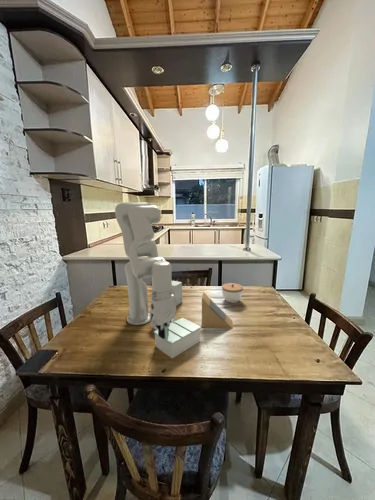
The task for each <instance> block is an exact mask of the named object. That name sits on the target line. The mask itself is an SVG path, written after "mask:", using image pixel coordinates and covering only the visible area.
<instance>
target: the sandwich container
mask: <svg viewBox="0 0 375 500" xmlns="http://www.w3.org/2000/svg"><path fill="white" fill-rule="evenodd" d="M201 327H203V328H204V327H205V328H207V327H208V328H217V329H233V328H234V322H233V319H231V317H229V316H228V314H226V313H225V312H224V311H223V310H222V309H221V308H220V307H219V306H218V305H217V304H216V303H215V302H214V301H213V300H212V299H211V298H210V297H209V296H208V295H207V294H206V293H205V292H204V291H203V292H202V297H201Z"/></svg>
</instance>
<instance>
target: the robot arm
mask: <svg viewBox="0 0 375 500" xmlns="http://www.w3.org/2000/svg"><path fill="white" fill-rule="evenodd" d="M114 215H115V218H116V221H117V224H118V226H119V228H120V231H121V234H122V240H123V247H124V251H125V255H126V257H128V259H129V261H128V262H127V263H126V264H125V266H124V272H125V277H126V283H127V293H128V306H129V308H128V309H127V311H128V313H129V315H128V316H126V321H127V323H128V324H129V325H133V326H141V325H145V324H147V323H150V325H149V326H150V328H153V329H154V328H156V327H157V328H158V335H159V337H161V338H162V339H164V338H165V331H164V329H163V324H164V325H166V326H168V327H169V326H170V322H171V321H172V320H173V319H174V318H176V317H177V306H176V304H175V299H174V295H173V294H172V281H173V280H172V265H171V263H170V262H169V261H167V260H166V258H164V257H162V256H159V251H158V247H157V242H156V241H155V239H154V238H155V231H154V229H153V227H152V225H153V224H155V225H156V224H159V223H160V221H161V219H162V213H161V210H160V209H159V207H158V206H157V205H155V204H154V203H151V202H148V201H147V202H145V201H144V202H142V201H141V202H140V201H139V202H136V201H135V202H133V201H132V202H129V201H128V202H127V201H126V202H120V203H118V204H116V206H115V208H114ZM142 257H147V258H142ZM146 278H151V289H152V290H151V294H149V295H150V296H149V297H150V305H149V297H148V285H147V284H146V282H145V281H144V280H143V279H146ZM168 332H169V331H168ZM168 336H169V334H168Z"/></svg>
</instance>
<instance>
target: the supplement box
mask: <svg viewBox="0 0 375 500" xmlns="http://www.w3.org/2000/svg"><path fill="white" fill-rule="evenodd" d="M172 294H173V295H174V299H175V304H176V307H177V306H178V305H180V304H181V303H183V281H177V280H172Z"/></svg>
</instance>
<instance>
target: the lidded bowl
mask: <svg viewBox="0 0 375 500" xmlns="http://www.w3.org/2000/svg"><path fill="white" fill-rule="evenodd" d="M243 290H244V287H243V285H242V284H239V283H233V282H229V283H224V284H222V285H221V292H222V296H223V299H224V300H225V301H226V302H227V303H229V302H230V304H236V303H239V301H240V300H241V299H242V297H243V293H244V291H243Z"/></svg>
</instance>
